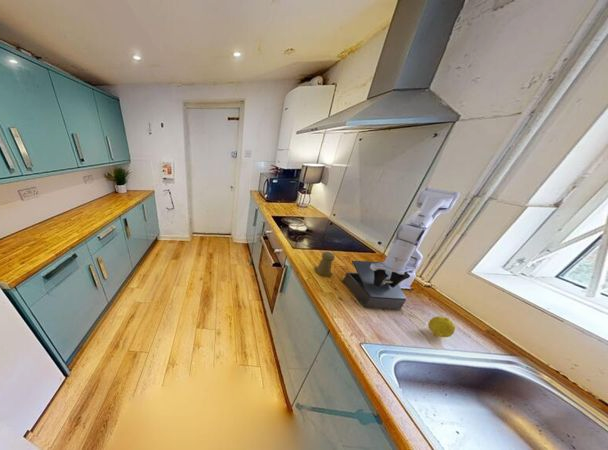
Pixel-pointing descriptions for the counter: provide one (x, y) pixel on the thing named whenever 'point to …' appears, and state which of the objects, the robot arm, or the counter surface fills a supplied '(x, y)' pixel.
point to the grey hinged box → (369, 302)
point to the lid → (368, 282)
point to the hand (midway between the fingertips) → (383, 285)
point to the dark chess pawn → (325, 264)
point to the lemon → (441, 326)
